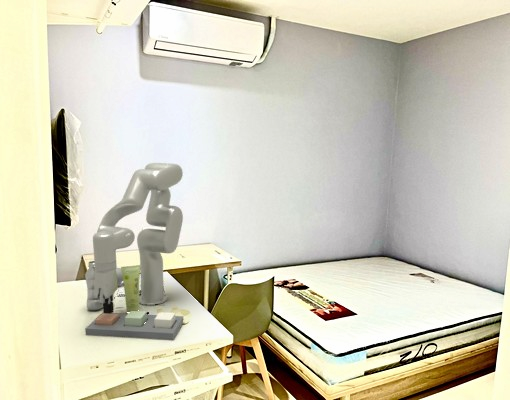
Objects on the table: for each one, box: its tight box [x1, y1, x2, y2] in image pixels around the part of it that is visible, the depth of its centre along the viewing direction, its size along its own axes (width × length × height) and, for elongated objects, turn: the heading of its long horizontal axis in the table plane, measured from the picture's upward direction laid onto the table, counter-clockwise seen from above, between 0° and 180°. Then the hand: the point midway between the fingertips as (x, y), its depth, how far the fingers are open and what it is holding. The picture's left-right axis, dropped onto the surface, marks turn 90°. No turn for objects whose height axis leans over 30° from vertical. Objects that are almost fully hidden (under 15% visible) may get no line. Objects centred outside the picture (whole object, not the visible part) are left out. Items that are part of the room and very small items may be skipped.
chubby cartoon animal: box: [116, 267, 123, 287], centre depth 197 cm, size 7×12×8 cm, turn 126°
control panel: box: [84, 312, 184, 341], centre depth 152 cm, size 14×32×2 cm, turn 85°
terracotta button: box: [95, 312, 119, 325], centre depth 153 cm, size 6×6×4 cm
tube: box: [120, 264, 141, 313], centre depth 165 cm, size 6×5×20 cm
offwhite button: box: [154, 311, 176, 329], centre depth 151 cm, size 6×6×4 cm
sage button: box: [125, 310, 148, 327], centre depth 152 cm, size 6×6×4 cm
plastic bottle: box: [84, 260, 103, 311], centre depth 168 cm, size 6×7×20 cm
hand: (108, 312), depth 153 cm, fingers closed
